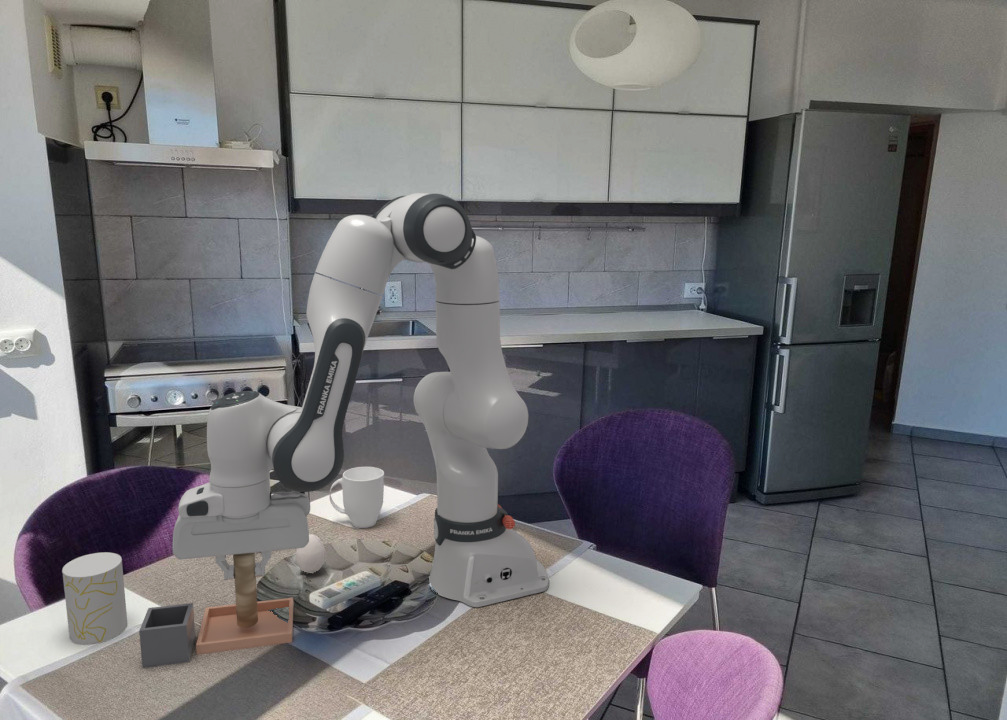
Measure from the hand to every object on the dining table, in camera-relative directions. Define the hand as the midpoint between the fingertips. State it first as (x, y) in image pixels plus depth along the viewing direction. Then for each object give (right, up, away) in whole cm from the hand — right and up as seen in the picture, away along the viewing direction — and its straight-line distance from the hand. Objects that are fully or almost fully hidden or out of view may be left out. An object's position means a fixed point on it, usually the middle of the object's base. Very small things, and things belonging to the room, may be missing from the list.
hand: (245, 576), depth 114 cm
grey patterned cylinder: (-24, -10, +1) cm, 26 cm away
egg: (+5, -6, +22) cm, 23 cm away
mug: (+9, -2, +43) cm, 44 cm away
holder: (-10, -11, -5) cm, 15 cm away
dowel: (0, -8, +2) cm, 8 cm away
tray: (0, -10, +2) cm, 10 cm away
